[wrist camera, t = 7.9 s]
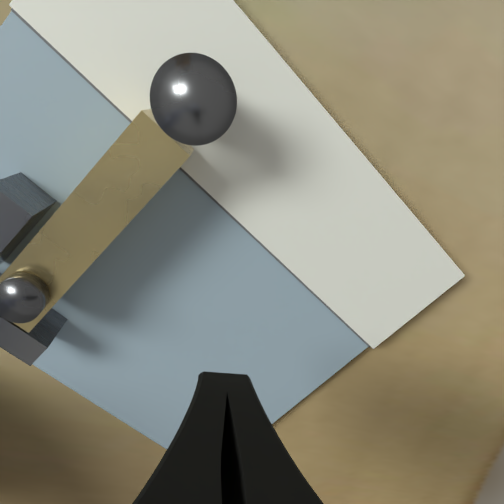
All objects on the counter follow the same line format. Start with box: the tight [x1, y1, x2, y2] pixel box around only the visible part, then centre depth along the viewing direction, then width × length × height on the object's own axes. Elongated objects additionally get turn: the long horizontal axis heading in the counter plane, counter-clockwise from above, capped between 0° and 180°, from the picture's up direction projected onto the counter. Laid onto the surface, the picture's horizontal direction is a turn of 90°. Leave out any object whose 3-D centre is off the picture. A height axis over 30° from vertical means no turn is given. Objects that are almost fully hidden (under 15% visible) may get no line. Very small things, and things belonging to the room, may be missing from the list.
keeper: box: [0, 172, 68, 366], centre depth 17 cm, size 6×6×2 cm
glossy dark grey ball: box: [150, 53, 237, 146], centre depth 14 cm, size 3×3×4 cm
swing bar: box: [0, 109, 194, 333], centre depth 15 cm, size 10×2×3 cm, turn 135°
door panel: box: [0, 0, 465, 449], centre depth 19 cm, size 19×22×1 cm
